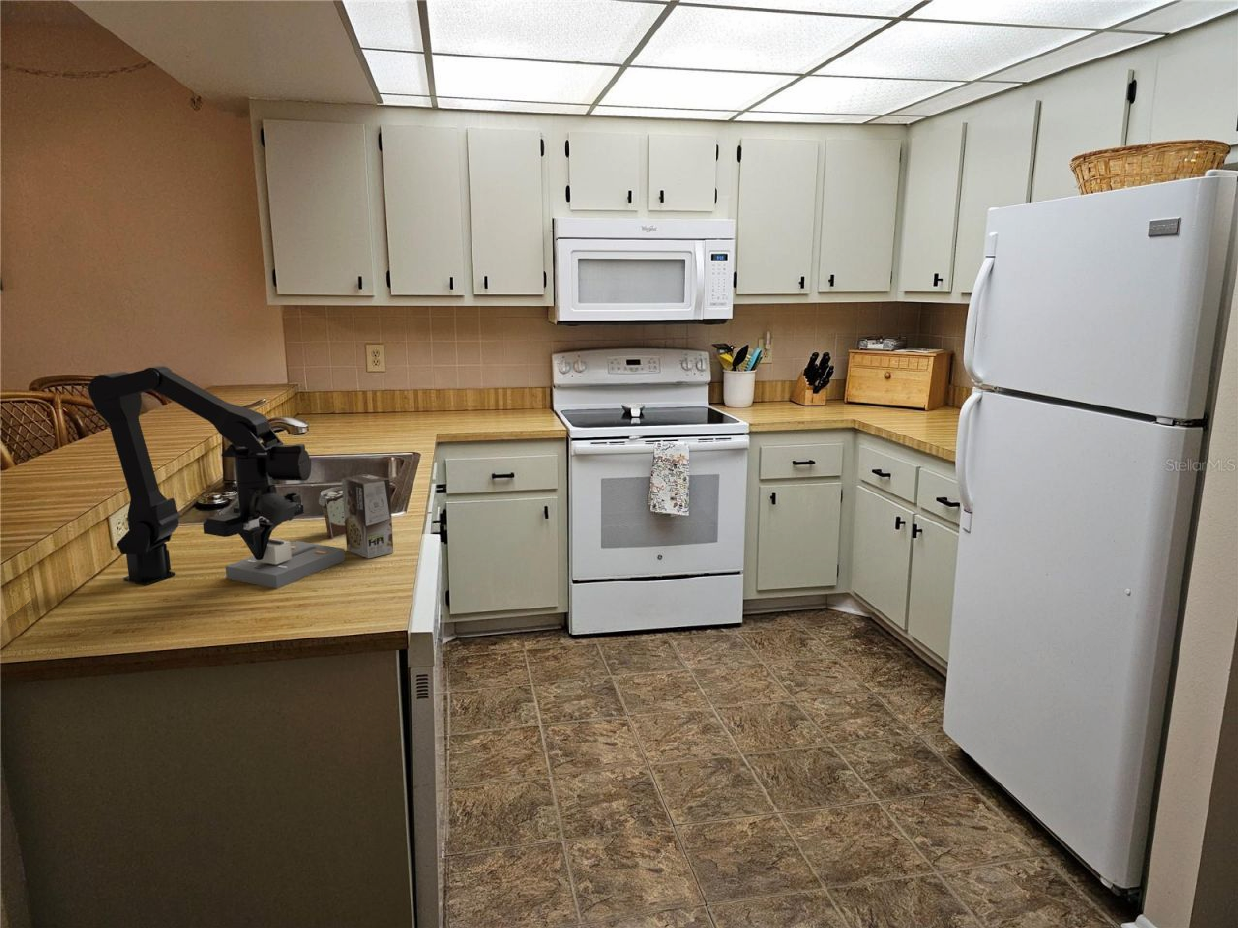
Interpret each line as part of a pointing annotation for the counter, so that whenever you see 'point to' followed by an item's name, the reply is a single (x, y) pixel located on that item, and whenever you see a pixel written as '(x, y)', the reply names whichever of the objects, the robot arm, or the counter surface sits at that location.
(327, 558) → the fader console
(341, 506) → the food container
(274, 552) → the fader tab
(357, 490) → the coffee box
